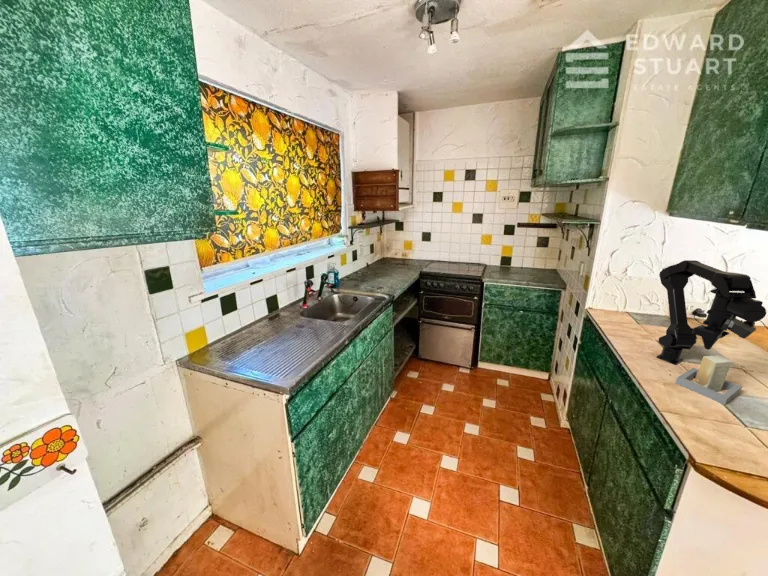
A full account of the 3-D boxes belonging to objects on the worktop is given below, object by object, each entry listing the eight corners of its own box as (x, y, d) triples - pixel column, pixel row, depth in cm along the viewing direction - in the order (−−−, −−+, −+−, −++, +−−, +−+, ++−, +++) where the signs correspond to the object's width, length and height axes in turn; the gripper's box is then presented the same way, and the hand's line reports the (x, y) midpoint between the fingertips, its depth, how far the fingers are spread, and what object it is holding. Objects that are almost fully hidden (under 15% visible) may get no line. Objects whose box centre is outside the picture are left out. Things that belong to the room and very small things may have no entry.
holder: (691, 372, 117) (693, 367, 116) (739, 392, 106) (742, 386, 105) (675, 383, 112) (677, 377, 111) (724, 404, 101) (727, 398, 100)
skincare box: (708, 383, 111) (719, 354, 107) (721, 391, 107) (733, 361, 103) (691, 384, 111) (702, 355, 107) (704, 392, 107) (716, 362, 103)
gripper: (746, 324, 93) (728, 367, 98) (767, 312, 101) (749, 352, 106) (698, 311, 103) (684, 351, 108) (721, 301, 111) (706, 339, 116)
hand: (707, 348), depth 109 cm, fingers closed
